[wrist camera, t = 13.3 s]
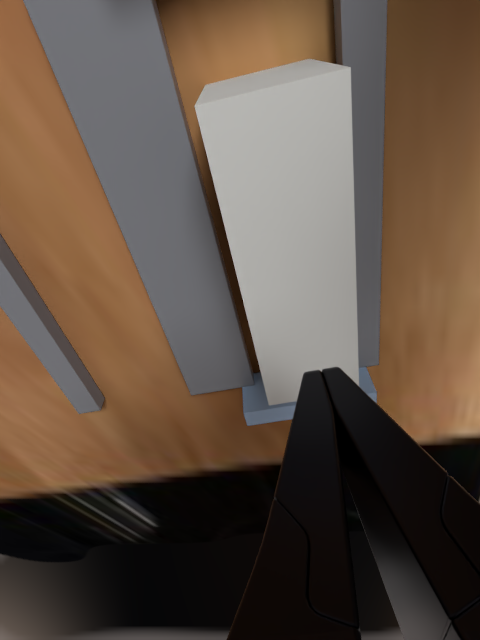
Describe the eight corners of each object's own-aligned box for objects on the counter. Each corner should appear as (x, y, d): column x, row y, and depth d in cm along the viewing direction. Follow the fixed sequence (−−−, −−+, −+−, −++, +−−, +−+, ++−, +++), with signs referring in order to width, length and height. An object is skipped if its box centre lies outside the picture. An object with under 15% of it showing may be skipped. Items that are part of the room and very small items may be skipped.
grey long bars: (379, -138, 11) (390, -152, 10) (373, 353, 23) (378, 364, 22) (-176, 27, 13) (-203, 27, 12) (83, 401, 25) (78, 413, 24)
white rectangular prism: (308, 58, 14) (350, 67, 9) (329, 311, 21) (359, 391, 16) (205, 84, 14) (194, 106, 10) (259, 324, 22) (268, 405, 17)
